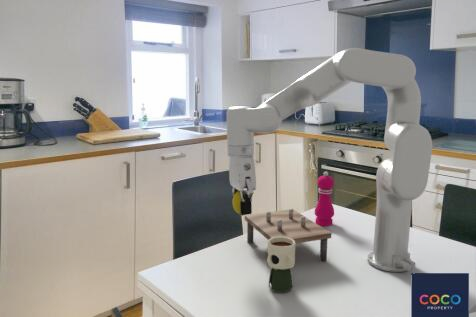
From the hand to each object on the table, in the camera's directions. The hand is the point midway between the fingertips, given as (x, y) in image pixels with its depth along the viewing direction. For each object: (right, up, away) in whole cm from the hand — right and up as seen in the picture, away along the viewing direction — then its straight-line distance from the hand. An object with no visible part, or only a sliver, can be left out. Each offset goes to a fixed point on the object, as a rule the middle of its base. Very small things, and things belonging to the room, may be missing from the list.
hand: (242, 210), depth 124 cm
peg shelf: (+14, -14, +11) cm, 22 cm away
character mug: (+10, -19, -13) cm, 25 cm away
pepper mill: (+31, -9, +35) cm, 48 cm away
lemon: (0, -2, 0) cm, 2 cm away
